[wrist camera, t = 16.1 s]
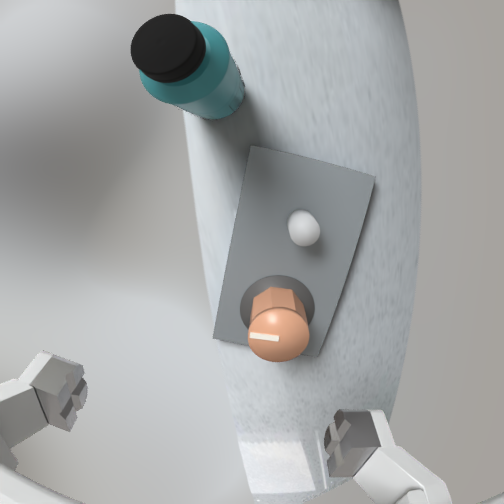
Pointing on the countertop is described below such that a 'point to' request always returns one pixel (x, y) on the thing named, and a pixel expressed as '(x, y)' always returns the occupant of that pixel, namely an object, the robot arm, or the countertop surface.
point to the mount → (292, 239)
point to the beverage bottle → (187, 66)
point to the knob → (278, 325)
